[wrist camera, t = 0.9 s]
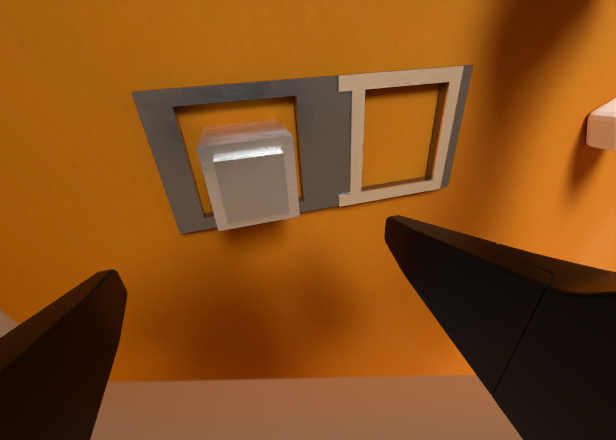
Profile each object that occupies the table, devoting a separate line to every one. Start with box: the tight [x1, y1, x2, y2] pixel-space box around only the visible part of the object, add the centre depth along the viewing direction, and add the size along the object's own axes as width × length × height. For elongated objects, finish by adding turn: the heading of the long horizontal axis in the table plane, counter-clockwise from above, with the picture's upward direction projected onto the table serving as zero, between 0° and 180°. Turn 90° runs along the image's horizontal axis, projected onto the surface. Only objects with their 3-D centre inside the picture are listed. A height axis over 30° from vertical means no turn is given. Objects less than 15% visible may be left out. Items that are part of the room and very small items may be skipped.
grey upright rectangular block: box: [196, 119, 300, 231], centre depth 18 cm, size 5×5×7 cm
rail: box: [131, 65, 473, 234], centre depth 21 cm, size 24×10×1 cm, turn 94°
